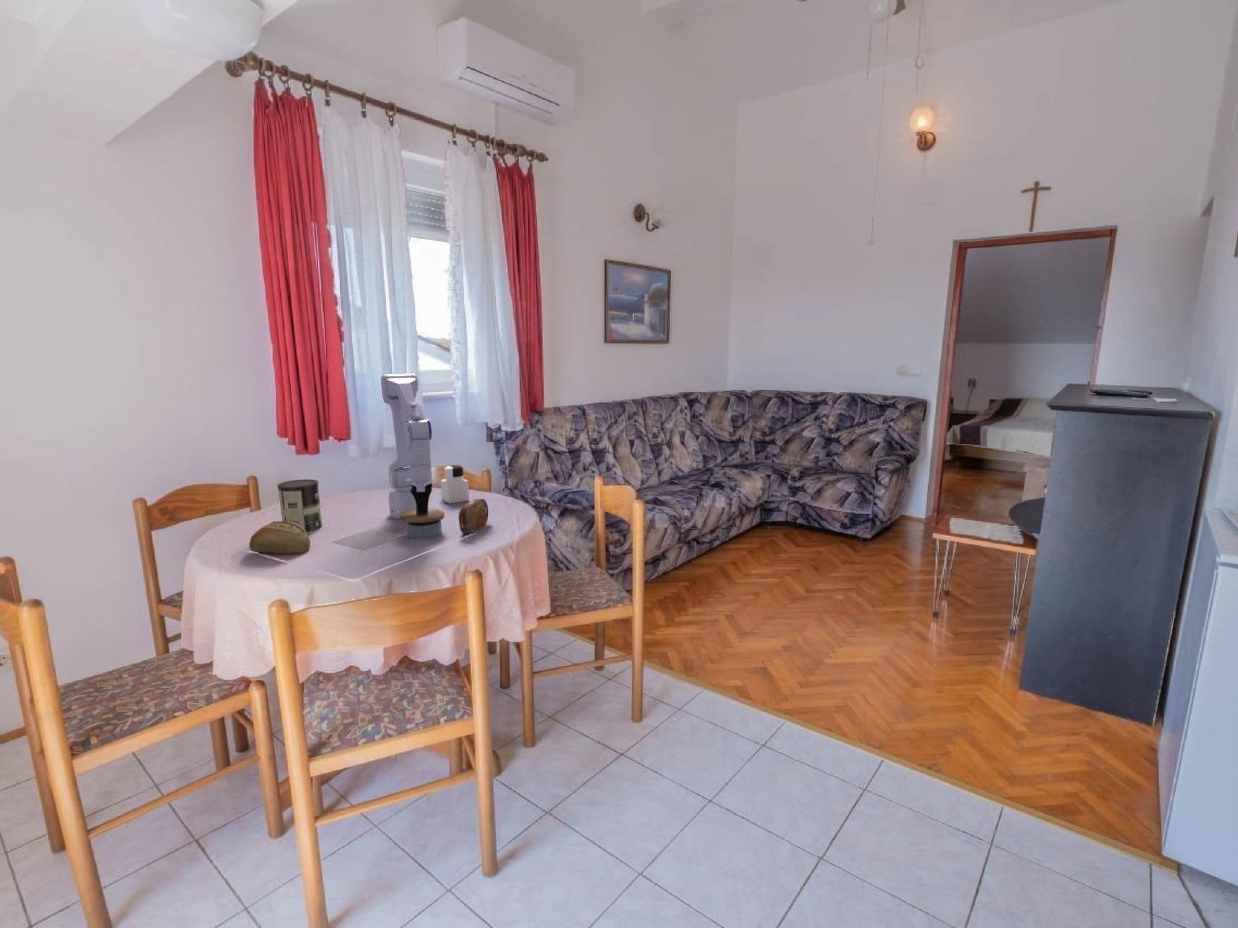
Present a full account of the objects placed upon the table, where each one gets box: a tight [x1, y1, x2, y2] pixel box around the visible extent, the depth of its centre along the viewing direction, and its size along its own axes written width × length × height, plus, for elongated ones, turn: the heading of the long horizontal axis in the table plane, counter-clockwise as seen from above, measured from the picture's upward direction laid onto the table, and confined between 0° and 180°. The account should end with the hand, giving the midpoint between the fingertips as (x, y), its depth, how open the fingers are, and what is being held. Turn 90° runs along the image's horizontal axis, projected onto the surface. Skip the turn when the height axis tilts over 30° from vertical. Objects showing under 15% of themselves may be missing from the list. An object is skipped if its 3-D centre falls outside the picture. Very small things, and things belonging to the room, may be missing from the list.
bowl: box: [406, 519, 443, 540], centre depth 173 cm, size 9×9×4 cm
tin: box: [458, 498, 489, 535], centre depth 177 cm, size 15×3×8 cm, turn 168°
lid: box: [399, 504, 445, 523], centre depth 171 cm, size 12×12×4 cm
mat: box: [332, 528, 404, 551], centre depth 168 cm, size 13×13×1 cm
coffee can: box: [277, 478, 323, 534], centre depth 175 cm, size 10×10×14 cm
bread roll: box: [249, 520, 311, 555], centre depth 158 cm, size 10×15×8 cm, turn 90°
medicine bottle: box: [440, 464, 470, 505], centre depth 209 cm, size 7×7×12 cm
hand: (423, 511), depth 172 cm, fingers closed on lid, 3 cm apart
